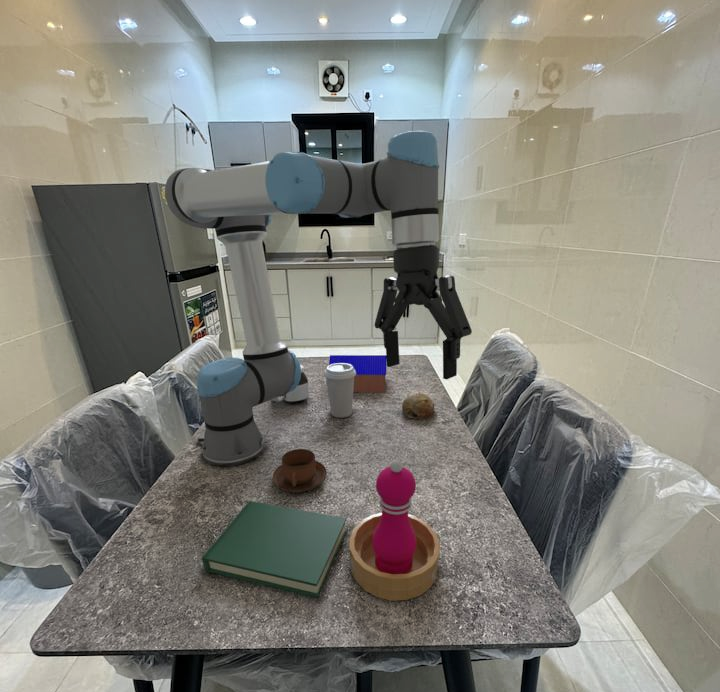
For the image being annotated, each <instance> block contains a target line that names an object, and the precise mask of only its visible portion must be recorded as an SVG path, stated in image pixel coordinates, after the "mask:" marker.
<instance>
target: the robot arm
mask: <svg viewBox="0 0 720 692" xmlns="http://www.w3.org/2000/svg"><path fill="white" fill-rule="evenodd" d="M439 169H440V164H439V154H438V141H437V137H436V136H435V135H434V134H433V133H432V132H429V131H426V130H410V131H405V132H401V133H398V134H395V135H394V136H393V137H391V138H390V139H389V140H388V141H387V152H386V157H383V158H381V159H377V160H373V161H370V162H366V163H357V162H352V161H346V160H340V159H332V158H327V157H322V156H316V155H311V154H309V153H305V152H303V151H281V152H277V153H275V155H274V156H273V158H272V159H270V160H269V161H263V162H257V163H251V164H245V165H239V166H233V167H226V168H220V169H209V168H202V167H201V168H200V167H185V168H179V169H177V170H175V171H173V172H172V173H171V174H170V175H169V176H168V178H167V180H166V182H165V185H164V197H165V198H164V199H165V201H166V204H167V206H168V208H169V210H170V212H171V213H172V214H173V215H174V216H175V218H177V219H178V220H179V221H181V222H182V223H184V224H186V225H188V226H191V227H194V228H199V229H214V230H215V234H216V239H217V240H218V241H219V242H221V243H222V244H223V245H224V246H225V250H226V255H227V259H228V263H229V269H230V273H231V277H232V282H233V287H234V291H235V296H236V301H237V305H238V311H239V314H240V320H241V325H242V328H243V333H244V338H245V343H246V346H245V347H244V348H243V350H242V357H243V358H240V357H227V358H221V359H216V360H214V361H210V362H209V363H207V364H205V365H203V366H202V367H201V368H200V369H199V370H198V372H197V374H196V392H197V394H198V398H199V403H200V407H201V412H202V416H203V421H204V422H203V423H204V426H205V427H204V428H205V431H204V437H202V438H199V437H198V438H197V442H202V448H201V449H202V450H201V451H202V456H203V459H204V461H205V462H207V463H208V464H210V465H213V466H219V467H233V466H238V465H242V464H245V463H248V462H250V461H252V460H254V459H257V458H258V457H259V456H260V455H261V454H262V453H263V452H264V450H265V447H266V445H265V440H266V436H265V435H263V434H262V433H261V431H260V429H259V427H258V425H257V423H256V421H255V418H254V411H253V408H254V407H256V406H259V405H262V404H264V403H267V402H269V401H272V399H274V398H277V399H278V398H279V397H280V398H281V397H283V396H284V395H286V394H287V393H289V392H291V391H293V390H294V389H295V388H296V387H297V385H298V384H299V382H300V378H301V367H300V365H301V363H300V361H299V359H298V358H296V357H297V355H296V353H294V352H293V351H292V350H290V349H289V347H288V344H287V343H285V342H284V341H282V340H281V337H280V331H279V326H278V320H277V316H276V310H275V304H274V299H273V298H274V297H273V294H272V288H271V282H270V277H269V273H268V266H267V262H266V256H265V251H264V245H263V240H264V239H265V238H266V236H267V234H268V232H267V227H268V226H270V224H271V222H272V219H273V218H272V216H273V215H302V214H305V215H306V214H329V215H330V214H331V215H338V216H339V217H341V218H344V219H345V218H347V219H348V218H362V217H363V216H367V215H372V214H376V213H382V212H387V211H390V218H391V219H390V220H391V238H392V239H391V242H392V244H391V245H393V246H394V247H396V248H395V249H394V250H393V251H392V259H393V260H392V261H393V272H394V273H396V275H397V276H392V277H385V278H384V279H383V292H382V295H381V298H380V302H379V306H378V310H377V314H376V317H375V321H374V327H375V329H379V330H380V331H381V332H382V334H383V335H382V337H383V347H384V349H385V353H386V354H385V355H386V368H391V367H395V366H398V365H400V348H399V347H400V344H399V331H398V329H397V325H398V323H399V322H400V320H401V319H402V317H403V315H404V314H405V312H406V310H407V309H408V307H409V306H411V305H416V306H423V307H424V308H425V309H427V310H428V311H429V313H430V314H431V316H432V318H433V319H434V320H435V322H436V323H437V325H438V327H439V329H440V330H441V331H442V333H443V335H444V336H445V337H446V338H445V339H444V340H442V379H443V380H449V379H451V378H454V377H456V376H457V375H458V374H457V373H458V371H457V370H458V366H457V365H458V359H460V357H461V340H462V338H465V337H469V336H471V335H472V333H473V330H472V328H471V325H470V323H469V320H468V317H467V315H466V313H465V312H466V311H465V310H464V307H463V305H462V302H461V300H460V297H459V295H458V292H457V290H456V279H455V276H454V275H445V276H440V277H439V276H438V270H439V268H440V247H439V245H436V243H438V242H439V241H440V240H439V239H440V229H439V227H440V225H439V224H440V222H439V219H440V218H439ZM438 291H439V293H440V294H439V293H438Z"/></svg>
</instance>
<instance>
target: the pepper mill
mask: <svg viewBox="0 0 720 692" xmlns="http://www.w3.org/2000/svg"><path fill="white" fill-rule="evenodd" d="M416 484H417V483H416V479H415V476H414V475H413V473H412V472H411V471H410V470H409V469H407V468H406V467H403V463H402V462H401V461H400V460H393V461H392V462H391V463H390V465H389V466H387V467H385V468H383V469H382V470H381V471H380V472H379V474H378V475H377V477H376V482H375V489H376V492H377V494H378V495H379V496H378V500H379V501H378V504H379V507H380V509H381V513H382V518H381V521H380V523H379V524H378V526H377V527H376V529H375V532H374V534H373V540H372V546H373V550H374V552H375V564H376V566H377V568H378V570H379V571H380V572H384V573H389V574H407V573H408V572H409V571H410V569H411V568H412V562H413V554H414V553H415V550H416V536H415V533H414V530H413V528H412V526H411V524H410V522H409V518H408V514H409V511H410V510H411V508H412V501H413V498H412V497H413V496H414V494H415V492H416Z"/></svg>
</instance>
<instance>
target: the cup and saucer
mask: <svg viewBox="0 0 720 692" xmlns="http://www.w3.org/2000/svg"><path fill="white" fill-rule="evenodd" d="M326 477H327V468H326V466H325V465H324V464H323V463H321V462H320V461H317V460H316V455H315V453H314V452H313V451H311V450H310V449H307V448H306V449H305V448H295V449H293V450H289V451H287V452H285V453H284V454H283V455H282V456H281V464H280V465H279V466H278V467H277V468H276V469H275V470H274V472H273V473H272V481H273V484H274V485H275V486H276V487H277V488H279V489H280V490H283V491H285V492H288V493H303V492H307V491H311V490H314V489H315V488H317V487H318V486H320V485H321V484H322V483H323V482H324V481H325V480H326Z"/></svg>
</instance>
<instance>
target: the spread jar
mask: <svg viewBox="0 0 720 692" xmlns="http://www.w3.org/2000/svg"><path fill="white" fill-rule="evenodd" d="M300 367H301V378H300V382H299V384H298V385H297V387H296V388H295V389H294V390H293V391H291V392H289V393H287V394H286V395H284V396H282V399H283V400H284V402H285V403H286V404H289V405H299V404H303V403H305V402H306V401H307V400H309V398H310V389H309V388H310V387H309V380H308V377H307V375H306V373H305V372H304V371H305V370H304V365H303V364H300ZM277 400H278V397H277V398H274V399H272V400H271V401H273V402H277Z"/></svg>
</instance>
